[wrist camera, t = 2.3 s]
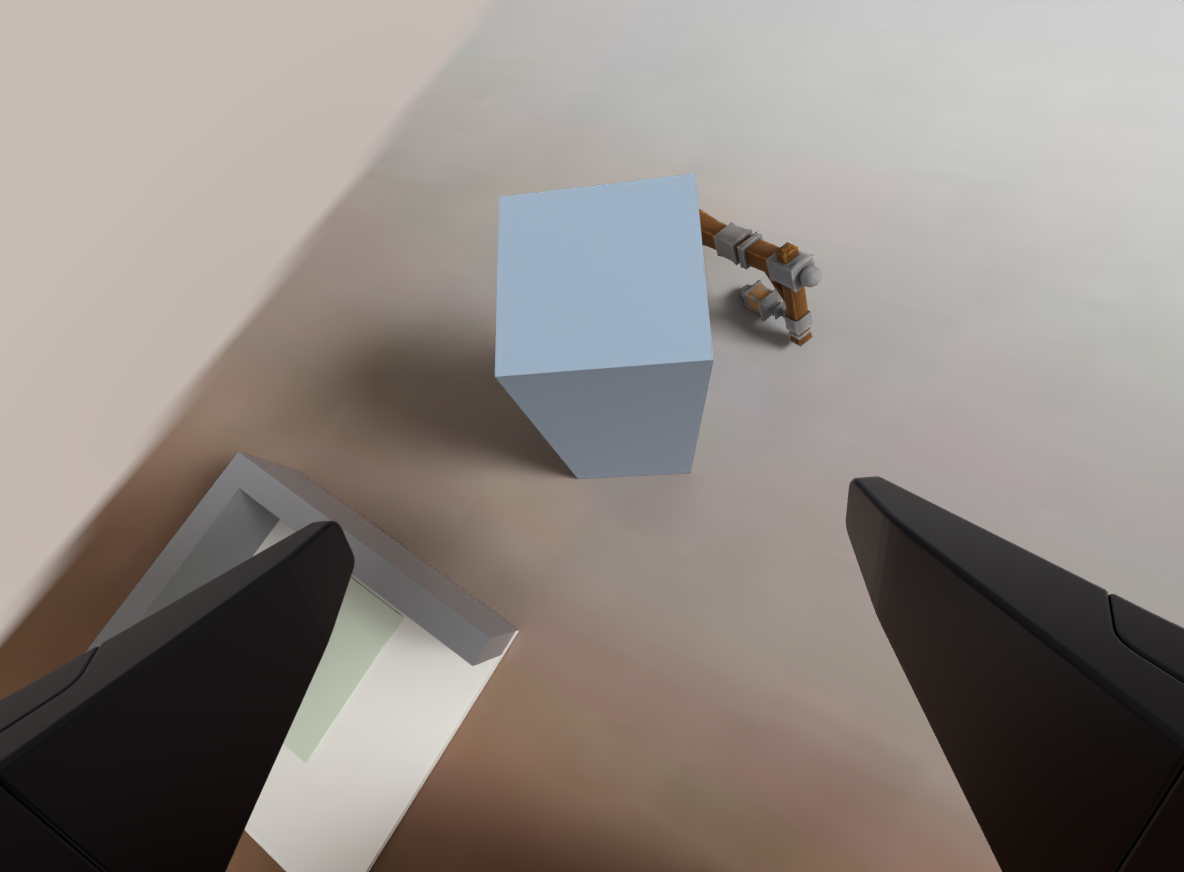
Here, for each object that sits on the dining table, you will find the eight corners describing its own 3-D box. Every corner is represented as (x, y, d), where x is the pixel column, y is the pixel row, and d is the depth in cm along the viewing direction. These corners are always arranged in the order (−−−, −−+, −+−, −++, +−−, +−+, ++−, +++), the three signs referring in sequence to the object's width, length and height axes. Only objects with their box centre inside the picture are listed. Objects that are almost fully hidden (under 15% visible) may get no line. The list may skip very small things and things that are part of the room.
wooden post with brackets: (806, 366, 21) (796, 277, 17) (680, 288, 26) (653, 208, 23) (841, 338, 21) (838, 243, 18) (708, 266, 26) (686, 182, 23)
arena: (519, 629, 20) (490, 638, 17) (343, 912, 19) (273, 982, 15) (299, 471, 23) (238, 452, 20) (130, 700, 22) (32, 720, 18)
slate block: (690, 473, 21) (713, 359, 11) (577, 479, 22) (495, 376, 11) (681, 364, 22) (694, 167, 12) (575, 372, 23) (499, 191, 13)
